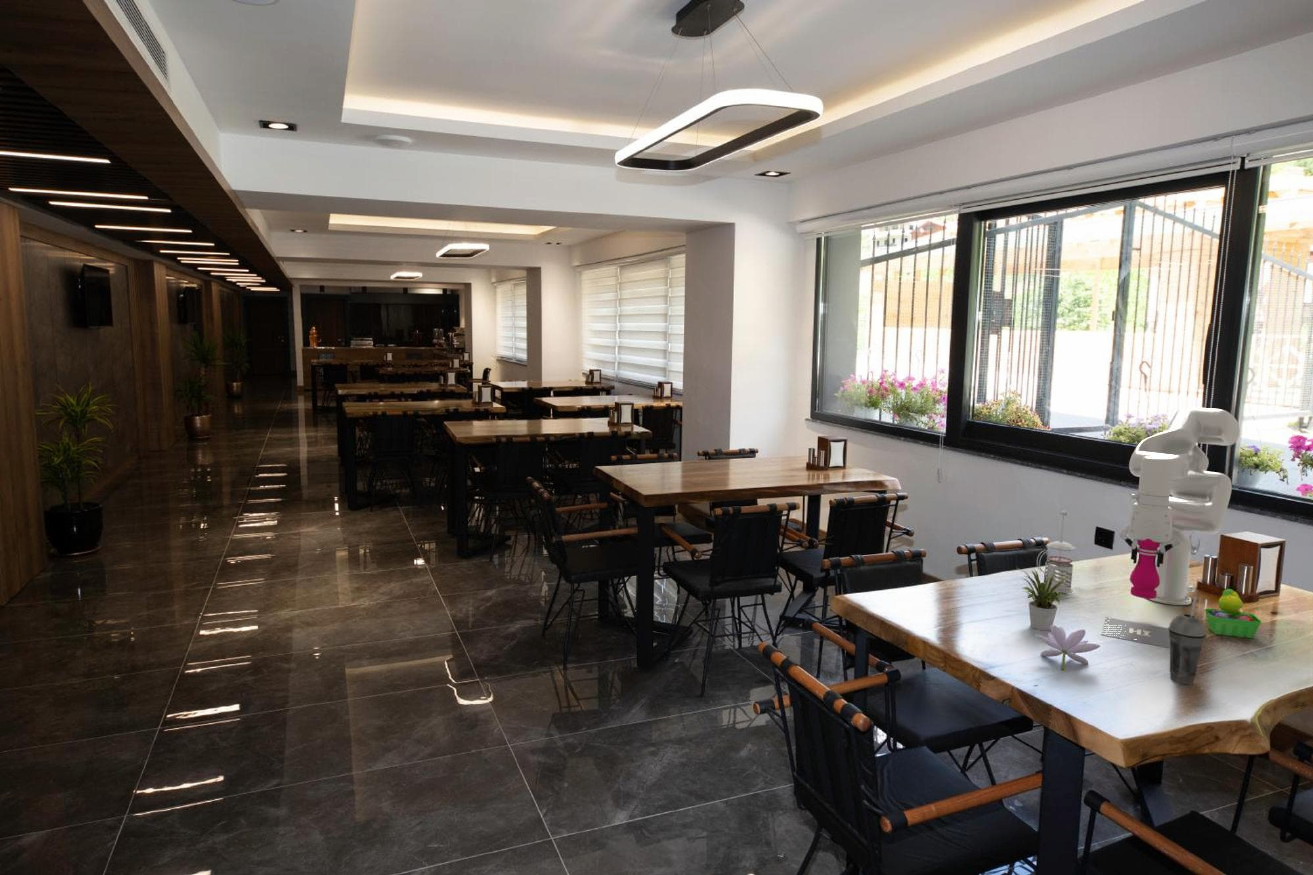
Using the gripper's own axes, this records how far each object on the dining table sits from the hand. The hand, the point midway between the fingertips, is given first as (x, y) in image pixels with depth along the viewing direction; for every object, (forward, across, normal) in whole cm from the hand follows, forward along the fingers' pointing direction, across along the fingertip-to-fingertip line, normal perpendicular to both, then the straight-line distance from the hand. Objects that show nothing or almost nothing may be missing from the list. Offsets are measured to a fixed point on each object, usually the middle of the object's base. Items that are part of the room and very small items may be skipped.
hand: (1146, 563), depth 227 cm
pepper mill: (+9, 0, 0) cm, 9 cm away
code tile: (+16, 0, -14) cm, 21 cm away
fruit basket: (+16, +21, +2) cm, 26 cm away
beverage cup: (+16, +10, -44) cm, 48 cm away
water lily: (+17, -14, -50) cm, 54 cm away
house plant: (+16, -24, -26) cm, 39 cm away
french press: (+16, -24, +16) cm, 33 cm away
